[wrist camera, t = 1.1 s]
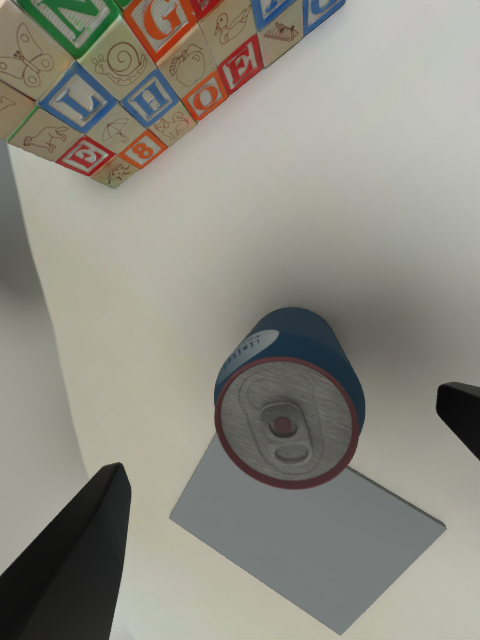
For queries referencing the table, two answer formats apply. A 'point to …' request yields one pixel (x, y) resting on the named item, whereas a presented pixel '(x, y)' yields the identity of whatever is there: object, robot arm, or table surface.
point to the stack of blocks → (132, 72)
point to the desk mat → (307, 535)
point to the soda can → (289, 402)
